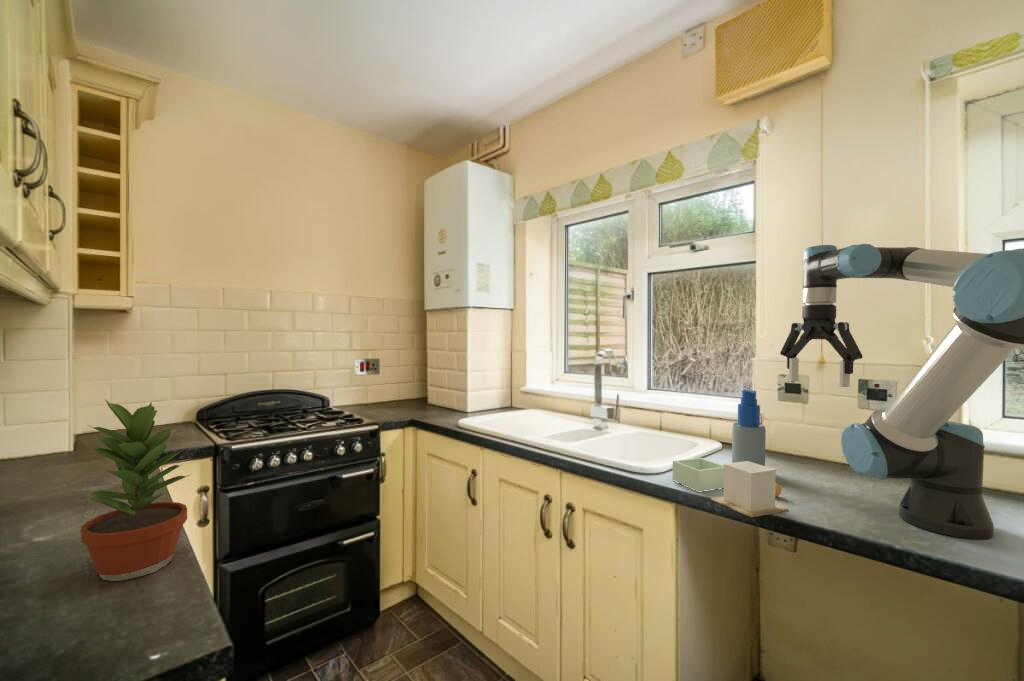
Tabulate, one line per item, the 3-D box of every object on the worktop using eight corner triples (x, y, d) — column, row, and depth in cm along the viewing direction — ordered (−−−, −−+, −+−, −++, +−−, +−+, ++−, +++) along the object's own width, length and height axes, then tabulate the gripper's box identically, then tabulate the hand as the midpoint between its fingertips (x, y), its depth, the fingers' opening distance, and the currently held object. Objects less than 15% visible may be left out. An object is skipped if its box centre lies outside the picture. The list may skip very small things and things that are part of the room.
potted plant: (189, 571, 79) (188, 400, 78) (70, 599, 70) (68, 407, 70) (194, 538, 91) (193, 390, 91) (93, 558, 83) (91, 395, 82)
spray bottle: (727, 467, 142) (728, 388, 141) (757, 468, 141) (758, 388, 140) (738, 476, 133) (739, 392, 132) (770, 478, 132) (771, 392, 132)
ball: (784, 497, 116) (784, 483, 116) (774, 499, 115) (774, 485, 115) (771, 493, 119) (772, 479, 119) (761, 494, 118) (762, 481, 118)
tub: (727, 488, 123) (727, 467, 123) (698, 493, 119) (698, 470, 119) (699, 477, 132) (700, 457, 132) (672, 481, 129) (672, 460, 129)
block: (775, 506, 109) (775, 469, 109) (750, 511, 106) (751, 473, 106) (746, 495, 116) (747, 460, 116) (723, 499, 113) (723, 464, 113)
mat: (788, 510, 108) (788, 508, 108) (751, 517, 103) (751, 515, 103) (745, 493, 119) (745, 492, 119) (710, 499, 114) (710, 498, 114)
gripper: (880, 302, 111) (879, 388, 111) (785, 307, 134) (784, 379, 134) (861, 301, 108) (859, 389, 108) (767, 306, 131) (766, 379, 131)
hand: (817, 384), depth 121 cm, fingers open, 13 cm apart
